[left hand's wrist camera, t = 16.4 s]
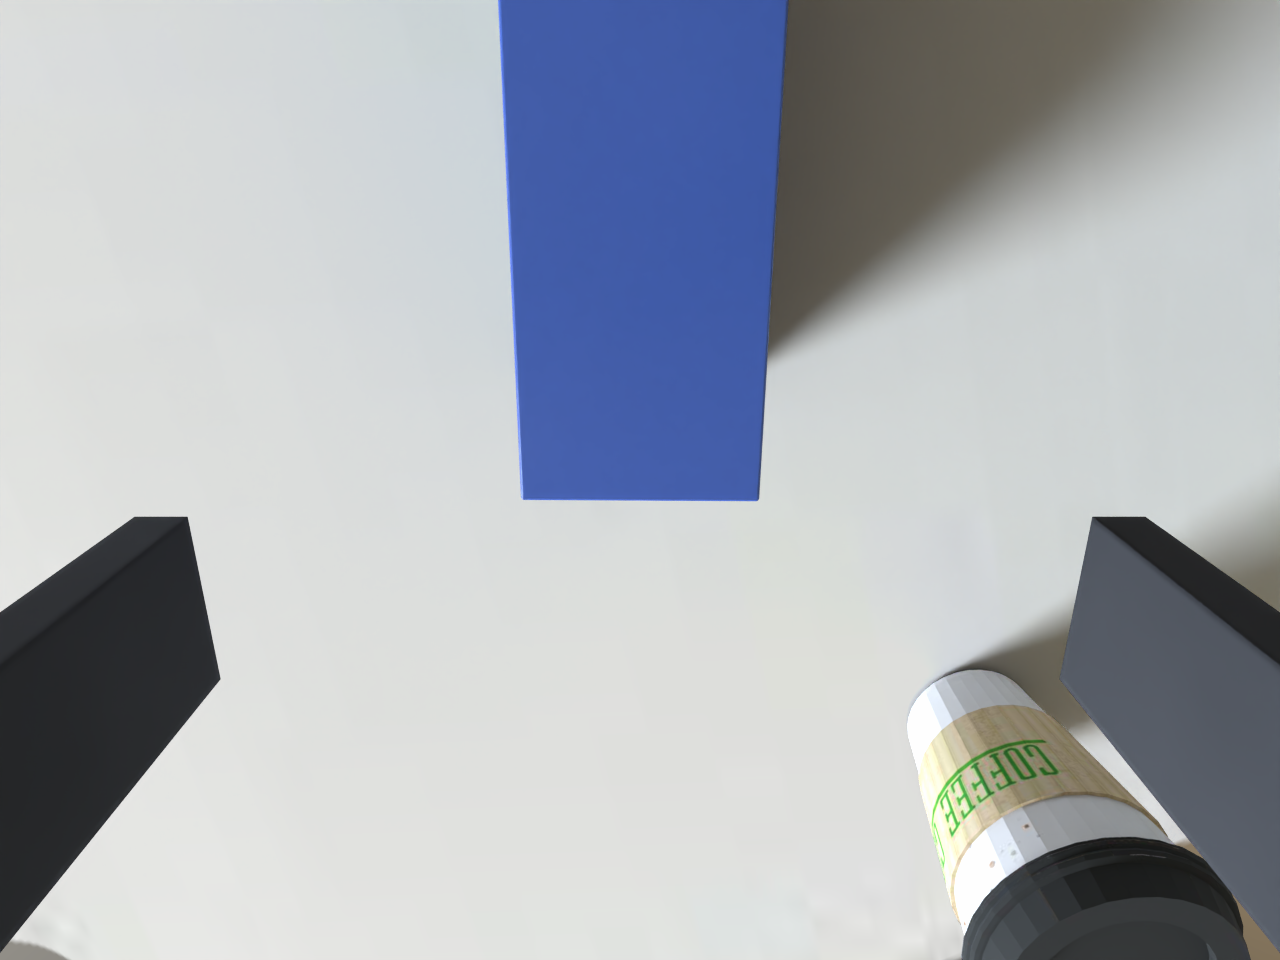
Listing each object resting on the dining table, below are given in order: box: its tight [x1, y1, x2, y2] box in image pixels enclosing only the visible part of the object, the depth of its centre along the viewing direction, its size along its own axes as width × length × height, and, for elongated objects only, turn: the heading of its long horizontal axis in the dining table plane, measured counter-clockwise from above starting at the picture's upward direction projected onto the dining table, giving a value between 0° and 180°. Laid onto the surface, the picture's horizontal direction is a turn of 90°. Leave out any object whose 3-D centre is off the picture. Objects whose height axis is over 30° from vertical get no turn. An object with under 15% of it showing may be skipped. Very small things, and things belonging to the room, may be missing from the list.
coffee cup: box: [908, 670, 1251, 960], centre depth 36 cm, size 10×10×15 cm
